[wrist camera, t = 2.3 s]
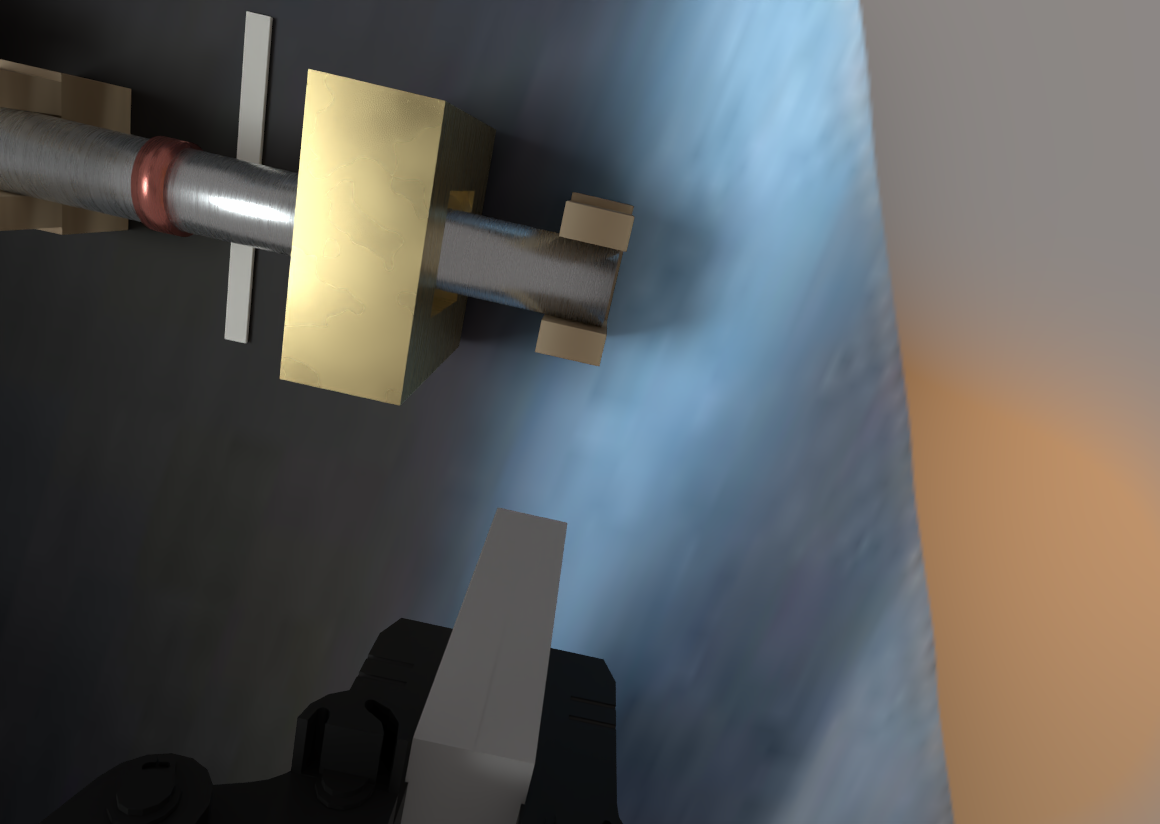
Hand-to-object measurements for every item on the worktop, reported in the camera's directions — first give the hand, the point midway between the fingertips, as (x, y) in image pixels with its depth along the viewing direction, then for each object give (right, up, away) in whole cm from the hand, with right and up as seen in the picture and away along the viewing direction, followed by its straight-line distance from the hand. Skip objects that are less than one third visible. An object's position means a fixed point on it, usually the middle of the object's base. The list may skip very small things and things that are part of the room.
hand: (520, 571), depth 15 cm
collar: (-5, +11, +16) cm, 21 cm away
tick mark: (-13, +13, +16) cm, 25 cm away
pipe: (-9, +11, +13) cm, 19 cm away
